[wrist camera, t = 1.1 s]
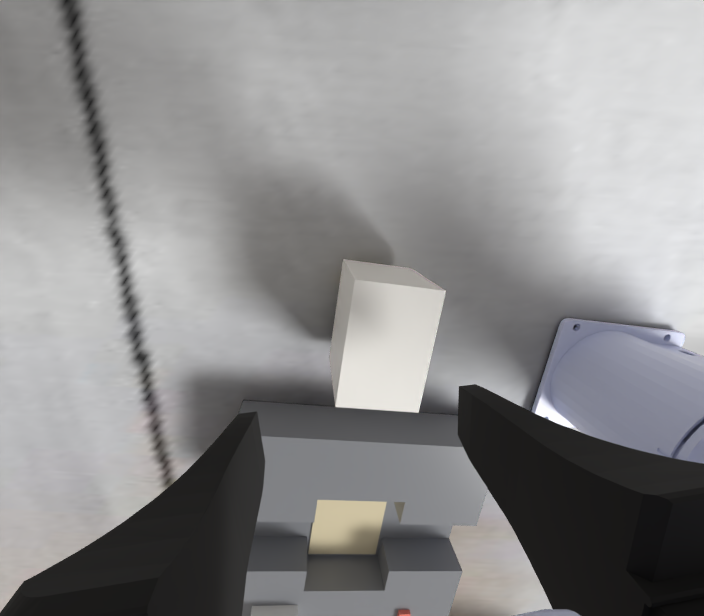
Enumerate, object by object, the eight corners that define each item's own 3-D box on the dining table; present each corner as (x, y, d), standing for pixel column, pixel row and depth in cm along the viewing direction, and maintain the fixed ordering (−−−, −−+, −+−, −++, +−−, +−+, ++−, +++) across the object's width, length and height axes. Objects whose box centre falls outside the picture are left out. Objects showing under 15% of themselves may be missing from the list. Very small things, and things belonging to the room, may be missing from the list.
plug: (406, 265, 21) (446, 290, 15) (389, 355, 23) (418, 412, 17) (341, 256, 21) (354, 279, 15) (328, 350, 22) (335, 407, 16)
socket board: (474, 416, 25) (506, 458, 21) (428, 583, 29) (447, 645, 25) (243, 400, 23) (228, 444, 19) (229, 584, 27) (215, 653, 23)
